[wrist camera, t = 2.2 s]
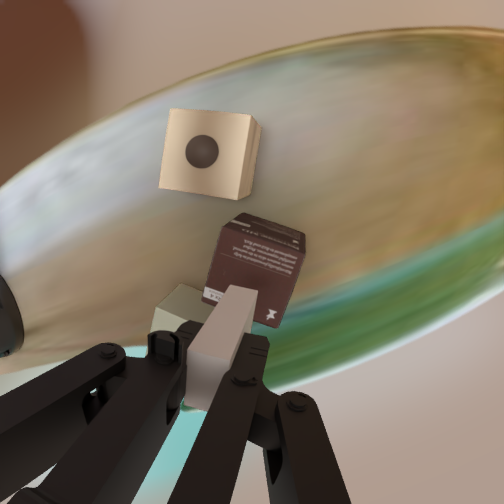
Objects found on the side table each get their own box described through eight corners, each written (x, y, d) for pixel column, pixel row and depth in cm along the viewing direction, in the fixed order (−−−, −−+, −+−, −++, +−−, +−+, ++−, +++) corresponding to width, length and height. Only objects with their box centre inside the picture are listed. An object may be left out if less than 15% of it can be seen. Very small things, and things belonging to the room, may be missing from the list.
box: (307, 233, 27) (308, 254, 20) (284, 294, 29) (278, 331, 22) (241, 211, 28) (220, 224, 21) (222, 272, 29) (198, 302, 22)
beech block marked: (186, 184, 28) (157, 187, 22) (196, 120, 26) (169, 107, 20) (250, 194, 27) (236, 200, 21) (261, 127, 26) (250, 114, 20)
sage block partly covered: (168, 330, 32) (143, 361, 26) (181, 282, 30) (154, 307, 24) (221, 353, 32) (205, 388, 26) (239, 306, 30) (224, 337, 24)
